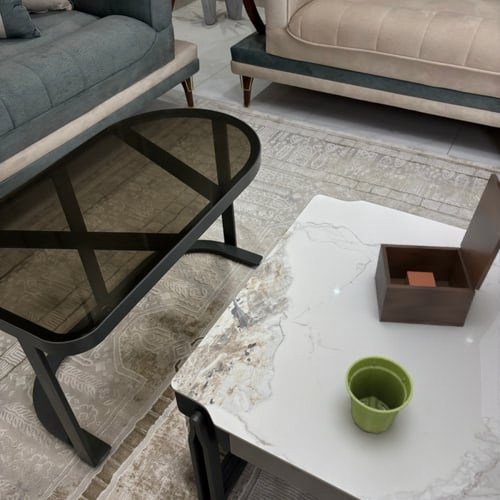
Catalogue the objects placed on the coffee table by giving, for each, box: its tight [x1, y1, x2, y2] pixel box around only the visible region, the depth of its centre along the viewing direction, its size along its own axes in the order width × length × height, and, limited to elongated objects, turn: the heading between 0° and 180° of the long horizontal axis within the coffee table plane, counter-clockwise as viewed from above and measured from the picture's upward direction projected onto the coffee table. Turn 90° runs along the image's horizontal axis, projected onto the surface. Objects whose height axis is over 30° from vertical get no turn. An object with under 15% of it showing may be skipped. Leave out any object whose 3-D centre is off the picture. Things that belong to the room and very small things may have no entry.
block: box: [404, 271, 436, 287], centre depth 92 cm, size 5×5×5 cm
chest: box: [374, 243, 477, 328], centre depth 91 cm, size 15×12×9 cm
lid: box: [459, 173, 500, 291], centre depth 82 cm, size 16×12×5 cm
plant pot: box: [344, 355, 414, 434], centre depth 74 cm, size 9×9×9 cm
